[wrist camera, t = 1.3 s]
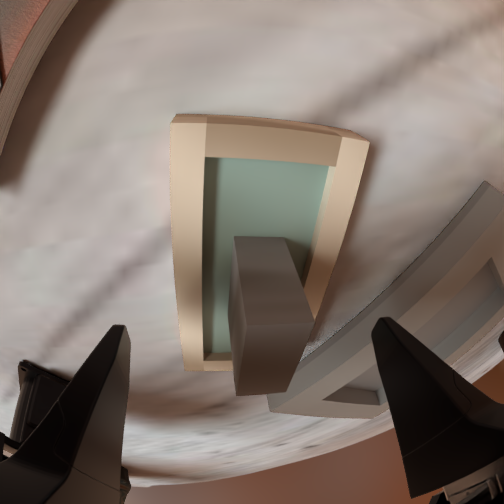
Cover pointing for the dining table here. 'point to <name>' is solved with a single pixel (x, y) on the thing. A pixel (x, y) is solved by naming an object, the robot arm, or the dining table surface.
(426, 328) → the grey flat frame
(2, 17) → the picture frame
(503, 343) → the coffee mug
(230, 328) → the picture frame
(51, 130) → the dining table surface
